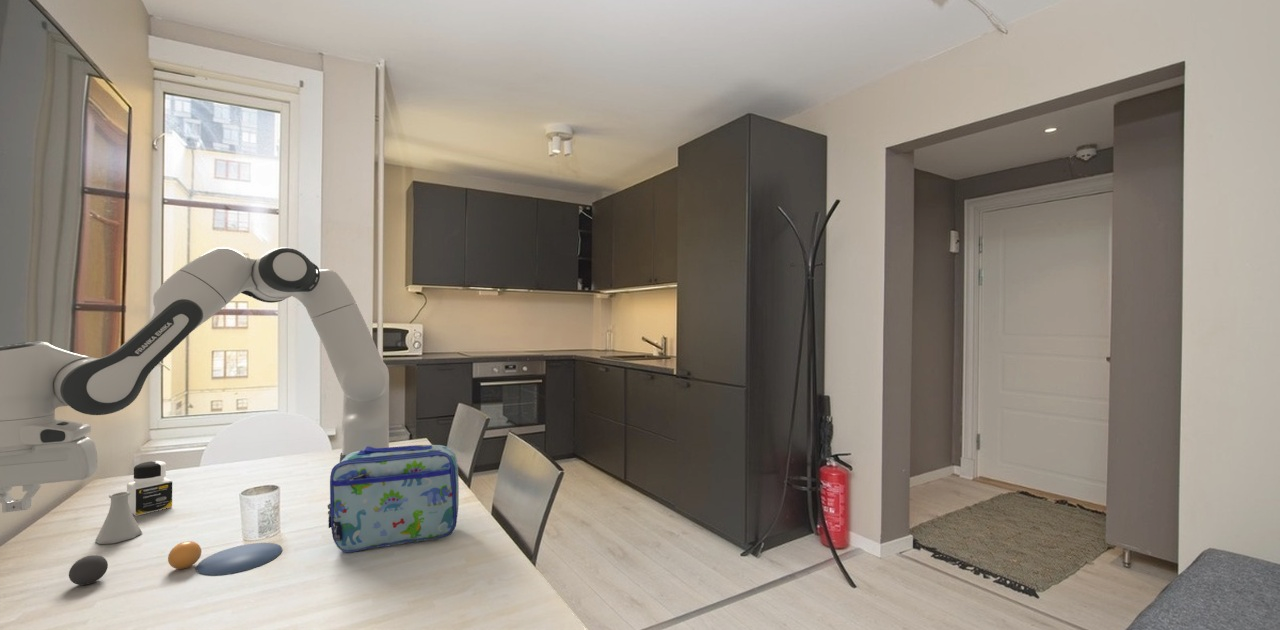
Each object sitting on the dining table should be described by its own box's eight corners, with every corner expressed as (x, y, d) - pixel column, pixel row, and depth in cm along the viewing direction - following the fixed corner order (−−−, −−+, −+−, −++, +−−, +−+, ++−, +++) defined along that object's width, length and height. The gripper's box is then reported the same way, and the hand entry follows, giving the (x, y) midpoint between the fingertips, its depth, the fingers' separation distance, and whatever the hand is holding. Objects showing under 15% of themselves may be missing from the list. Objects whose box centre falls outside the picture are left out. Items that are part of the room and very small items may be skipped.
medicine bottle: (135, 516, 129) (135, 468, 129) (126, 510, 133) (126, 463, 133) (172, 507, 135) (172, 461, 135) (162, 502, 139) (163, 457, 139)
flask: (112, 546, 112) (112, 500, 112) (86, 543, 114) (87, 498, 114) (150, 533, 119) (150, 489, 119) (125, 530, 121) (125, 487, 121)
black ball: (112, 574, 100) (113, 548, 100) (100, 586, 96) (100, 559, 96) (77, 580, 98) (77, 553, 98) (62, 592, 93) (62, 565, 94)
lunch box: (323, 558, 107) (324, 457, 107) (337, 537, 118) (338, 444, 118) (456, 543, 115) (457, 448, 115) (459, 524, 125) (459, 437, 125)
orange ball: (204, 559, 106) (204, 535, 106) (196, 570, 102) (196, 544, 102) (173, 564, 104) (173, 539, 104) (163, 575, 100) (163, 549, 100)
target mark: (287, 539, 116) (287, 538, 116) (275, 566, 104) (275, 565, 104) (208, 551, 110) (208, 550, 110) (185, 581, 98) (185, 580, 98)
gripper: (-85, 443, 85) (-86, 527, 85) (85, 431, 94) (84, 507, 94) (-56, 435, 91) (-57, 514, 91) (102, 424, 100) (101, 496, 100)
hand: (16, 510), depth 93 cm, fingers closed
